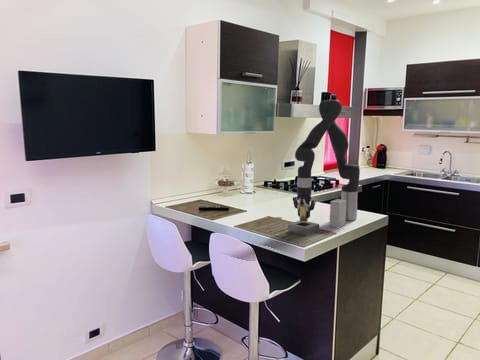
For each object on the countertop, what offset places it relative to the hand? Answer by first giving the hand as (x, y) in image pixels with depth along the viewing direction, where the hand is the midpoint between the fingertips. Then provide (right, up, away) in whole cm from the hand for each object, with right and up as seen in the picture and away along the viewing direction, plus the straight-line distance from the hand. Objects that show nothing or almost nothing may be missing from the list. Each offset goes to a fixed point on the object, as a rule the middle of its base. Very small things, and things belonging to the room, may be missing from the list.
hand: (303, 216), depth 207 cm
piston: (0, -2, 0) cm, 2 cm away
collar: (0, -8, +1) cm, 8 cm away
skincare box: (+21, -6, +11) cm, 25 cm away
